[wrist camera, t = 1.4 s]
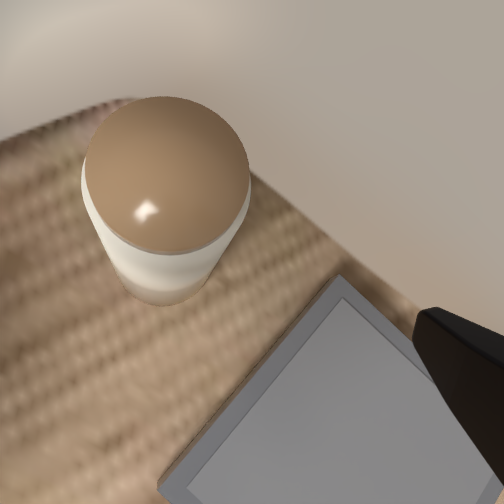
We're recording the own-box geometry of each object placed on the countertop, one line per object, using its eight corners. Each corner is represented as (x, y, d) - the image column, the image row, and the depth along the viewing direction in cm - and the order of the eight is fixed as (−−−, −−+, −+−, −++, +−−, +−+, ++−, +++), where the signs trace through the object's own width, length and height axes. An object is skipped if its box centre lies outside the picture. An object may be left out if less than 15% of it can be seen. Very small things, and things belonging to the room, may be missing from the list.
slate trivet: (506, 444, 22) (527, 449, 21) (366, 682, 19) (381, 704, 18) (330, 278, 22) (340, 273, 21) (157, 482, 19) (157, 490, 18)
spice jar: (229, 258, 22) (291, 173, 12) (164, 326, 20) (171, 294, 10) (163, 195, 22) (168, 58, 12) (93, 259, 20) (34, 164, 10)
